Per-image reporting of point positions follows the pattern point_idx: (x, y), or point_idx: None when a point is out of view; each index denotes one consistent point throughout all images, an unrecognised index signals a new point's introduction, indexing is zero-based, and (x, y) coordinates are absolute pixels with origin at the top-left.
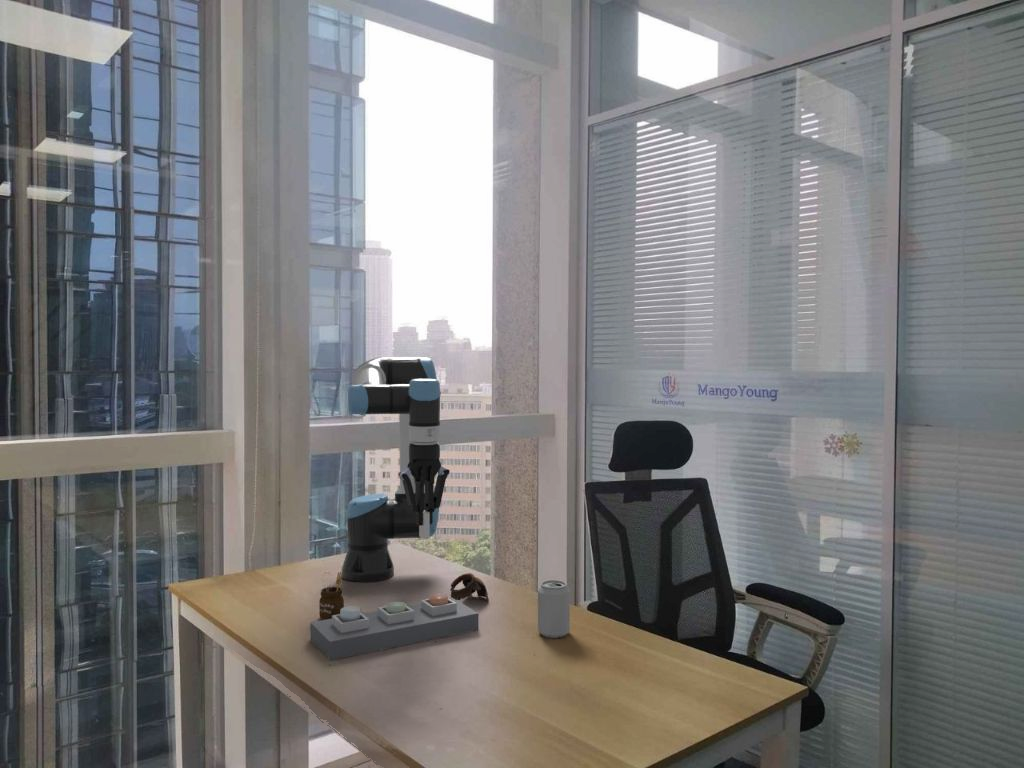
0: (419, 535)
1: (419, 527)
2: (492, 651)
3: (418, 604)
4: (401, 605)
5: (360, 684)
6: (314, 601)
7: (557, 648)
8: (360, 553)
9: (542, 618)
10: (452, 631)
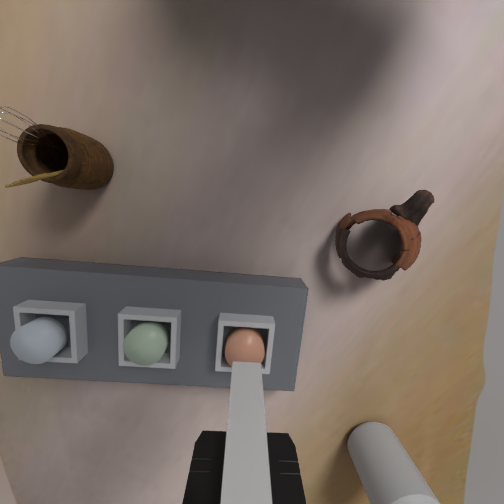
0: (232, 368)
1: (229, 399)
2: None
3: (227, 289)
4: (152, 357)
5: (48, 445)
6: (86, 22)
7: (333, 477)
8: None
9: (358, 470)
10: None
